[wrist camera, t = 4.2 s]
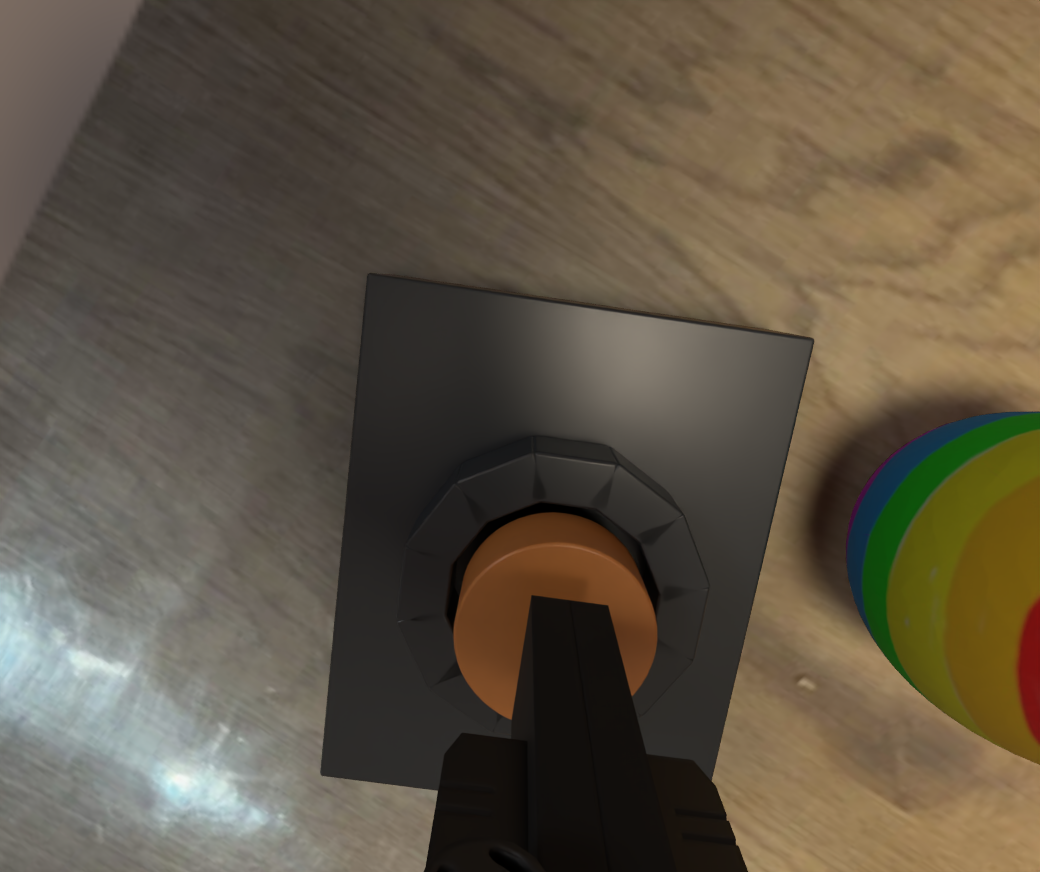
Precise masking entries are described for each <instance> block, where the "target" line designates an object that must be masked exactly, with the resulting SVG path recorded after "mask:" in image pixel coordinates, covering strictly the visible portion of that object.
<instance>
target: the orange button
mask: <svg viewBox="0 0 1040 872" xmlns="http://www.w3.org/2000/svg"><path fill="white" fill-rule="evenodd" d="M531 595H535V596H543V597H550V598H558V599H565V600H572V601H580V602H587V603H595V604H602V605H608V606H609V610H610V614H611V618H612V622H613V626H614V630H615V634H616V637H617V641H618V645H619V649H620V653H621V657H622V661H623V665H624V668H625V672H626V676H627V680H628V684H629V688H630V692H631V695H632V696H633V695H634V694H635V692H636V691H637V690H638V689H639V687H640V686H641V685H642V683H643V681H644V680H645V678H646V676H647V675H648V672H649V670H650V668H651V665H652V663H653V660H654V656H655V652H656V646H657V622H656V616H655V612H654V609H653V605H652V602H651V600H650V597H649V595H648V592H647V590H646V587H645V585H644V582H643V580H642V578H641V575H640V573H639V570H638V568H637V565H636V563H635V561H634V559H633V557H632V556H631V554H630V552H629V551H628V549H627V548H626V547H625V546H624V544H623V543H622V542H621V541H620V540H619V539H618V538H617V537H616V536H615V535H614V534H612V533H611V532H610V531H609V530H607V529H606V528H604V527H603V526H601V525H599V524H597V523H595V522H593V521H591V520H589V519H586V518H583V517H580V516H577V515H572V514H567V513H556V512H550V513H538V514H533V515H528V516H525V517H522V518H518V519H516V520H514V521H512V522H509V523H507V524H505V525H504V526H502V527H501V528H499V529H497V530H496V531H495V532H494V533H492V534H491V535H490V536H489V537H487V539H486V540H485V541H484V542H483V543H482V544H481V545H480V546H479V547H478V549H477V550H476V552H475V553H474V554H473V556H472V558H471V560H470V562H469V564H468V566H467V568H466V571H465V574H464V577H463V582H462V587H461V592H460V597H459V602H458V607H457V612H456V616H455V621H454V631H453V641H454V650H455V655H456V659H457V662H458V665H459V667H460V670H461V672H462V674H463V676H464V678H465V680H466V682H467V683H468V685H469V686H470V687H471V689H472V690H473V691H474V693H475V694H476V695H477V696H478V697H479V698H480V699H481V700H482V701H483V702H484V703H485V704H486V705H488V706H489V707H490V708H491V709H493V710H494V711H496V712H497V713H499V714H501V715H502V716H504V717H506V718H508V719H510V720H512V713H513V707H514V701H515V695H516V688H517V682H518V676H519V670H520V663H521V657H522V651H523V645H524V638H525V632H526V626H527V620H528V613H529V607H530V601H531Z"/></svg>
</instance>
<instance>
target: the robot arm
mask: <svg viewBox="0 0 1040 872" xmlns="http://www.w3.org/2000/svg"><path fill="white" fill-rule="evenodd" d="M726 816H727V815H726V812H725V809H724V807H723V804H722V801H721V799H720V796H719V793H718V791H717V788H716V786H715V785H714V784H713V782H712V781H711V780H710V779H709V778H708V777H707V775H706V774H705V773H704V772H703V771H702V770H701V769H700V767H699V766H698V765H697V764H696V763H695V762H694V760H690V759H682V758H674V757H667V756H659V755H651V754H646V750H645V746H644V742H643V738H642V734H641V730H640V726H639V723H638V719H637V715H636V711H635V707H634V703H633V699H632V695H631V692H630V688H629V684H628V680H627V676H626V672H625V668H624V665H623V661H622V657H621V653H620V649H619V645H618V641H617V637H616V634H615V630H614V626H613V622H612V618H611V614H610V610H609V606H608V605H602V604H595V603H587V602H580V601H572V600H565V599H558V598H550V597H543V596H535V595H531V601H530V607H529V613H528V620H527V626H526V632H525V638H524V645H523V651H522V657H521V663H520V670H519V676H518V682H517V688H516V695H515V701H514V707H513V713H512V723H511V739H509V738H501V737H493V736H485V735H478V734H470V733H461V734H460V735H459V737H458V738H457V739H456V740H455V742H454V743H453V744H452V745H451V746H450V748H449V749H448V750H447V751H446V752H445V754H444V759H443V765H442V771H441V777H440V784H439V789H438V795H437V801H436V808H435V814H434V820H433V826H432V832H431V838H430V844H429V850H428V856H427V862H426V868H425V870H424V872H748V870H747V868H746V865H745V862H744V860H743V857H742V854H741V852H740V849H739V846H736V839H735V836H734V833H733V831H732V828H731V825H730V823H729V821H727V819H726Z"/></svg>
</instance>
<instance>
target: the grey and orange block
mask: <svg viewBox="0 0 1040 872" xmlns="http://www.w3.org/2000/svg"><path fill="white" fill-rule="evenodd" d="M813 344H814V339H813V338H810V337H805V336H799V335H794V334H789V333H783V332H778V331H773V330H767V329H760V328H753V327H747V326H740V325H733V324H726V323H719V322H713V321H706V320H699V319H692V318H685V317H679V316H672V315H665V314H658V313H651V312H645V311H638V310H631V309H624V308H617V307H611V306H604V305H597V304H590V303H583V302H577V301H570V300H563V299H556V298H549V297H543V296H536V295H529V294H522V293H515V292H509V291H502V290H495V289H488V288H481V287H474V286H468V285H461V284H454V283H447V282H440V281H434V280H427V279H420V278H413V277H406V276H400V275H392V274H377V273H369V274H368V275H367V281H366V292H365V303H364V313H363V324H362V335H361V345H360V356H359V367H358V377H357V388H356V398H355V409H354V420H353V430H352V441H351V452H350V462H349V473H348V484H347V494H346V505H345V515H344V526H343V537H342V547H341V558H340V569H339V579H338V590H337V601H336V611H335V622H334V632H333V643H332V654H331V664H330V675H329V686H328V696H327V707H326V718H325V728H324V739H323V749H322V760H321V771H320V773H321V775H322V776H328V777H336V778H344V779H352V780H359V781H367V782H375V783H383V784H391V785H399V786H406V787H414V788H422V789H430V790H438V789H439V784H440V777H441V771H442V765H443V759H444V754H445V752H446V751H447V750H448V749H449V748H450V746H451V745H452V744H453V743H454V742H455V740H456V739H457V738H458V737H459V735H460V734H461V733H470V734H478V735H485V736H493V737H501V738H509V739H511V723H512V720H510V719H508V718H506V717H504V716H502V715H501V714H499V713H497V712H496V711H494V710H493V709H491V708H490V707H489V706H488V705H486V704H485V703H484V702H483V701H482V700H481V699H480V698H479V697H478V696H477V695H476V694H475V693H474V691H473V690H472V689H471V687H470V686H469V685H468V683H467V682H466V680H465V678H464V676H463V674H462V672H461V670H460V667H459V665H458V662H457V659H456V655H455V650H454V641H453V631H454V621H455V616H456V612H457V607H458V602H459V597H460V592H461V587H462V582H463V577H464V574H465V571H466V568H467V566H468V564H469V562H470V560H471V558H472V556H473V554H474V553H475V552H476V550H477V549H478V547H479V546H480V545H481V544H482V543H483V542H484V541H485V540H486V539H487V537H489V536H490V535H491V534H492V533H494V532H495V531H496V530H497V529H499V528H501V527H502V526H504V525H505V524H507V523H509V522H512V521H514V520H516V519H518V518H522V517H525V516H528V515H533V514H538V513H550V512H556V513H567V514H572V515H577V516H580V517H583V518H586V519H589V520H591V521H593V522H595V523H597V524H599V525H601V526H603V527H604V528H606V529H607V530H609V531H610V532H611V533H612V534H614V535H615V536H616V537H617V538H618V539H619V540H620V541H621V542H622V543H623V544H624V546H625V547H626V548H627V549H628V551H629V552H630V554H631V556H632V557H633V559H634V561H635V563H636V565H637V568H638V570H639V573H640V575H641V578H642V580H643V582H644V585H645V587H646V590H647V592H648V595H649V597H650V600H651V602H652V605H653V609H654V612H655V616H656V622H657V646H656V652H655V656H654V660H653V663H652V665H651V668H650V670H649V672H648V675H647V676H646V678H645V680H644V681H643V683H642V685H641V686H640V687H639V689H638V690H637V691H636V692H635V694H634V695H633V696H632V699H633V703H634V707H635V711H636V715H637V719H638V723H639V726H640V730H641V734H642V738H643V742H644V746H645V750H646V754H651V755H659V756H667V757H674V758H682V759H690V760H694V762H695V763H696V764H697V765H698V766H699V767H700V769H701V770H702V771H703V772H704V773H705V774H706V775H707V777H708V778H709V779H710V780H711V781H712V777H713V772H714V768H715V764H716V759H717V755H718V751H719V747H720V742H721V738H722V734H723V730H724V725H725V721H726V717H727V712H728V708H729V704H730V700H731V695H732V691H733V687H734V682H735V678H736V674H737V670H738V665H739V661H740V657H741V653H742V648H743V644H744V640H745V635H746V631H747V627H748V623H749V618H750V614H751V610H752V605H753V601H754V597H755V593H756V588H757V584H758V580H759V575H760V571H761V567H762V563H763V558H764V554H765V550H766V546H767V541H768V537H769V533H770V528H771V524H772V520H773V516H774V511H775V507H776V503H777V498H778V494H779V490H780V486H781V481H782V477H783V473H784V469H785V464H786V460H787V456H788V451H789V447H790V443H791V439H792V434H793V430H794V426H795V421H796V417H797V413H798V409H799V404H800V400H801V396H802V392H803V387H804V383H805V379H806V374H807V370H808V366H809V362H810V357H811V353H812V349H813Z"/></svg>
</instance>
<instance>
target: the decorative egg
mask: <svg viewBox="0 0 1040 872" xmlns="http://www.w3.org/2000/svg"><path fill="white" fill-rule="evenodd" d="M846 563H847V572H848V579H849V583H850V587H851V591H852V594H853V598H854V601H855V604H856V606H857V609H858V611H859V614H860V616H861V618H862V620H863V622H864V623H865V625H866V627H867V629H868V631H869V633H870V635H871V636H872V638H873V639H874V641H875V642H876V644H877V645H878V647H879V648H880V649H881V651H882V652H883V654H884V655H885V656H886V658H887V659H888V660H889V661H890V663H891V664H892V665H893V666H894V668H895V669H896V670H897V671H898V672H899V673H900V674H901V675H902V676H903V677H904V678H905V679H906V680H907V681H908V682H909V683H910V684H911V685H912V686H913V687H914V688H915V689H916V690H917V691H918V692H919V693H921V694H922V695H923V696H924V697H925V698H926V699H927V700H929V701H930V702H931V703H932V704H934V705H935V706H936V707H938V708H939V709H940V710H941V711H943V712H944V713H945V714H947V715H948V716H949V717H951V718H952V719H954V720H955V721H957V722H958V723H960V724H961V725H963V726H964V727H966V728H967V729H969V730H970V731H972V732H974V733H976V734H977V735H979V736H981V737H983V738H984V739H986V740H988V741H990V742H992V743H993V744H995V745H997V746H999V747H1001V748H1004V749H1006V750H1008V751H1010V752H1012V753H1014V754H1016V755H1018V756H1020V757H1023V758H1025V759H1027V760H1030V761H1032V762H1034V763H1037V764H1040V412H1004V413H995V414H985V415H979V416H974V417H970V418H966V419H963V420H959V421H956V422H952V423H948V424H945V425H942V426H940V427H937V428H935V429H933V430H930V431H928V432H926V433H924V434H922V435H920V436H919V437H917V438H915V439H913V440H912V441H910V442H908V443H907V444H905V445H904V446H902V447H901V448H900V449H898V450H897V451H896V452H895V453H893V454H892V455H891V456H890V457H889V458H888V459H887V460H886V461H885V462H884V463H883V464H882V465H881V466H880V467H879V468H878V469H877V470H876V471H875V472H874V474H873V475H872V476H871V478H870V479H869V480H868V482H867V483H866V485H865V486H864V488H863V490H862V491H861V493H860V495H859V497H858V499H857V501H856V503H855V506H854V508H853V511H852V514H851V518H850V521H849V526H848V533H847V540H846Z"/></svg>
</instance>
